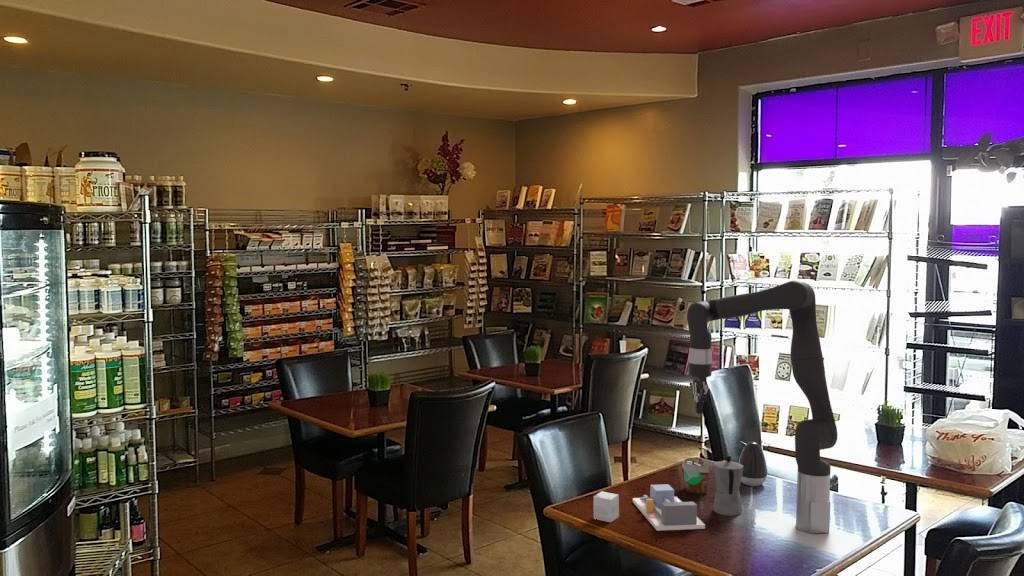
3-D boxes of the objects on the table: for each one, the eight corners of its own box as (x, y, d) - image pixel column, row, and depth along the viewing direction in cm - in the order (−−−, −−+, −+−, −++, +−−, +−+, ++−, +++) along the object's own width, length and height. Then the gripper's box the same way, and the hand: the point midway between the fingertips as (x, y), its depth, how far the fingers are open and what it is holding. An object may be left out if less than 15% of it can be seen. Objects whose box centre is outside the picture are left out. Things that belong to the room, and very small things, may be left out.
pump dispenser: (747, 477, 289) (748, 436, 288) (772, 484, 281) (773, 442, 280) (730, 483, 283) (731, 441, 282) (756, 490, 275) (757, 447, 274)
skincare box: (619, 517, 248) (619, 494, 247) (610, 523, 243) (610, 499, 242) (601, 513, 251) (602, 490, 251) (592, 519, 246) (593, 495, 246)
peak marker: (653, 512, 248) (653, 499, 248) (646, 512, 248) (647, 499, 247) (652, 511, 249) (652, 498, 249) (645, 511, 249) (646, 498, 248)
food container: (674, 486, 279) (675, 458, 278) (690, 484, 281) (690, 456, 280) (692, 497, 267) (693, 468, 267) (708, 495, 269) (709, 466, 269)
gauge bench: (705, 528, 238) (705, 505, 238) (656, 530, 237) (657, 507, 236) (676, 500, 264) (676, 478, 264) (632, 501, 262) (633, 480, 262)
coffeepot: (710, 503, 261) (711, 449, 260) (739, 505, 260) (741, 451, 259) (715, 519, 246) (716, 462, 245) (746, 521, 245) (748, 464, 243)
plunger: (679, 512, 248) (679, 495, 248) (647, 513, 247) (647, 496, 246) (667, 500, 259) (668, 484, 259) (637, 501, 258) (637, 485, 257)
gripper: (718, 364, 257) (717, 417, 258) (703, 358, 270) (702, 408, 271) (696, 364, 256) (695, 417, 257) (682, 358, 269) (681, 409, 270)
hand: (698, 413), depth 264 cm, fingers closed
